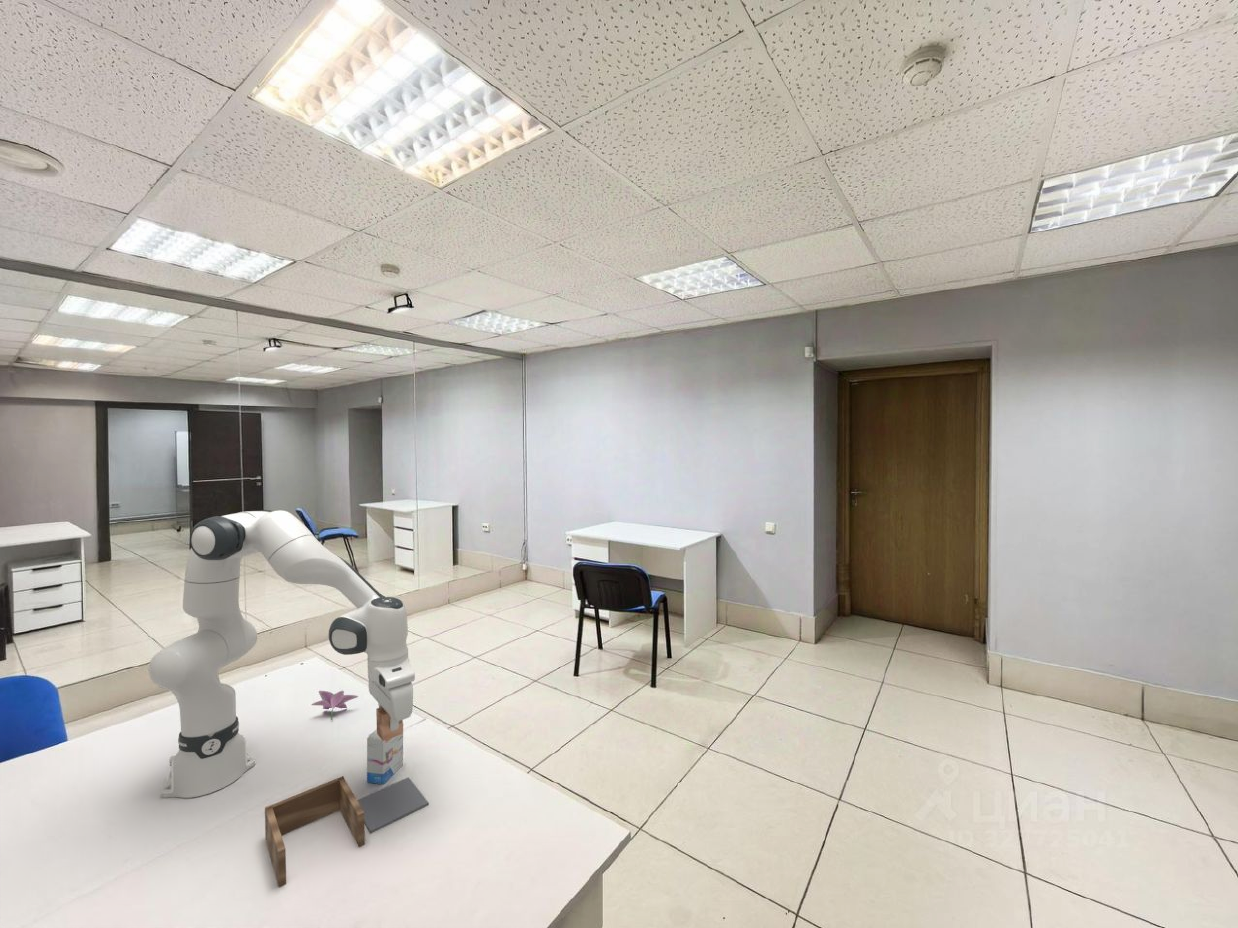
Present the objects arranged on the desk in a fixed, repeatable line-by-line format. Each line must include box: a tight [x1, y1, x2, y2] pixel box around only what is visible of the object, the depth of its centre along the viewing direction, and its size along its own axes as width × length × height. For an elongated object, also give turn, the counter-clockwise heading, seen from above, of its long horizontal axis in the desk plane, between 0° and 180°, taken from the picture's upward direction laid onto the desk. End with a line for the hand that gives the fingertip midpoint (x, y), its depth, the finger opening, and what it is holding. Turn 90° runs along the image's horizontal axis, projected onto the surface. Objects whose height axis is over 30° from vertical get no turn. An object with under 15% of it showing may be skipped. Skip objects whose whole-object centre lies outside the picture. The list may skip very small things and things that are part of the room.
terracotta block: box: [376, 707, 404, 741], centre depth 118 cm, size 4×4×6 cm
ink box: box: [366, 728, 404, 785], centre depth 130 cm, size 9×5×12 cm, turn 168°
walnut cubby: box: [264, 775, 366, 888], centre depth 107 cm, size 17×15×7 cm
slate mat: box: [357, 776, 430, 834], centre depth 119 cm, size 13×13×1 cm
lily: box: [311, 690, 359, 721], centre depth 159 cm, size 12×12×10 cm
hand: (389, 723), depth 118 cm, fingers closed on terracotta block, 4 cm apart
